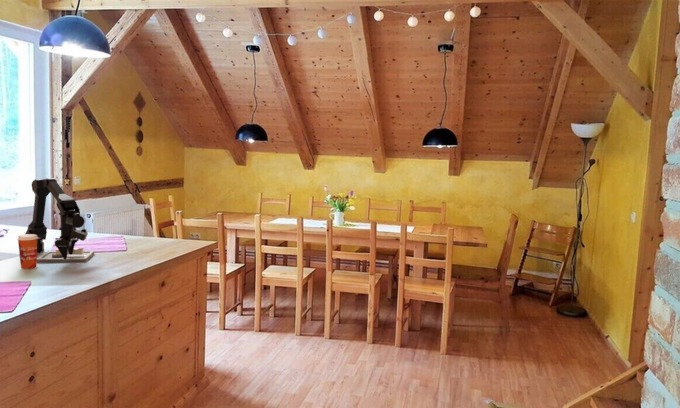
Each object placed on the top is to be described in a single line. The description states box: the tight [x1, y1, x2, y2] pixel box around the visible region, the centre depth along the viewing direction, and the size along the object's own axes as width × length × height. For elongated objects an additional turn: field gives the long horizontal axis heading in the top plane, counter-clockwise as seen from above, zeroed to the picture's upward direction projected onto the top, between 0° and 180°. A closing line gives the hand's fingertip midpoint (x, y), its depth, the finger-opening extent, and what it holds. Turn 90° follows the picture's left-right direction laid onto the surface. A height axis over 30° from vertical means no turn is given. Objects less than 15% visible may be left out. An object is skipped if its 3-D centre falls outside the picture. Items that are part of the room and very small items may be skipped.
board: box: [36, 250, 95, 264], centre depth 252 cm, size 22×17×2 cm
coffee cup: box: [16, 234, 38, 270], centre depth 232 cm, size 8×8×15 cm
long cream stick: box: [52, 247, 85, 257], centre depth 251 cm, size 14×6×4 cm, turn 103°
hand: (68, 256), depth 244 cm, fingers open, 9 cm apart
